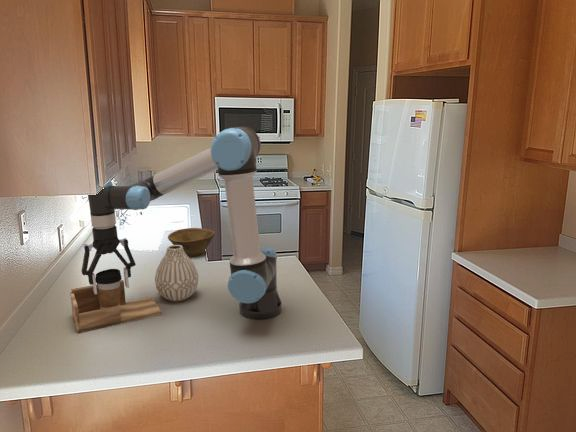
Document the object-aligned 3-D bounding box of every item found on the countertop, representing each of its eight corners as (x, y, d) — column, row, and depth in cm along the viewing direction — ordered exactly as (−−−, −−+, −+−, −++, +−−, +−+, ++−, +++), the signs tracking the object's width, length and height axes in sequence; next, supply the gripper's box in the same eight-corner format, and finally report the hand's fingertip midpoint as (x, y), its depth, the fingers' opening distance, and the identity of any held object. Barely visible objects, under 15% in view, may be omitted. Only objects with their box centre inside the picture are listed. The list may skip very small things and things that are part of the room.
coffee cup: (128, 313, 160) (125, 272, 157) (104, 321, 154) (101, 278, 151) (115, 306, 166) (113, 266, 162) (92, 313, 160) (89, 272, 156)
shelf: (161, 314, 162) (159, 287, 160) (77, 333, 149) (74, 304, 147) (151, 300, 174) (149, 275, 171) (72, 316, 161) (69, 289, 158)
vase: (154, 307, 168) (150, 254, 163) (157, 290, 183) (154, 241, 178) (199, 303, 171) (197, 252, 166) (199, 287, 186) (196, 239, 181)
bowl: (160, 252, 228) (159, 233, 226) (201, 243, 243) (200, 225, 241) (182, 264, 212) (181, 243, 210) (224, 253, 227) (223, 234, 225)
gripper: (136, 219, 161) (142, 279, 167) (66, 228, 151) (74, 292, 156) (141, 223, 155) (147, 286, 160) (68, 233, 144) (77, 300, 150)
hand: (111, 289), depth 158 cm, fingers open, 10 cm apart
